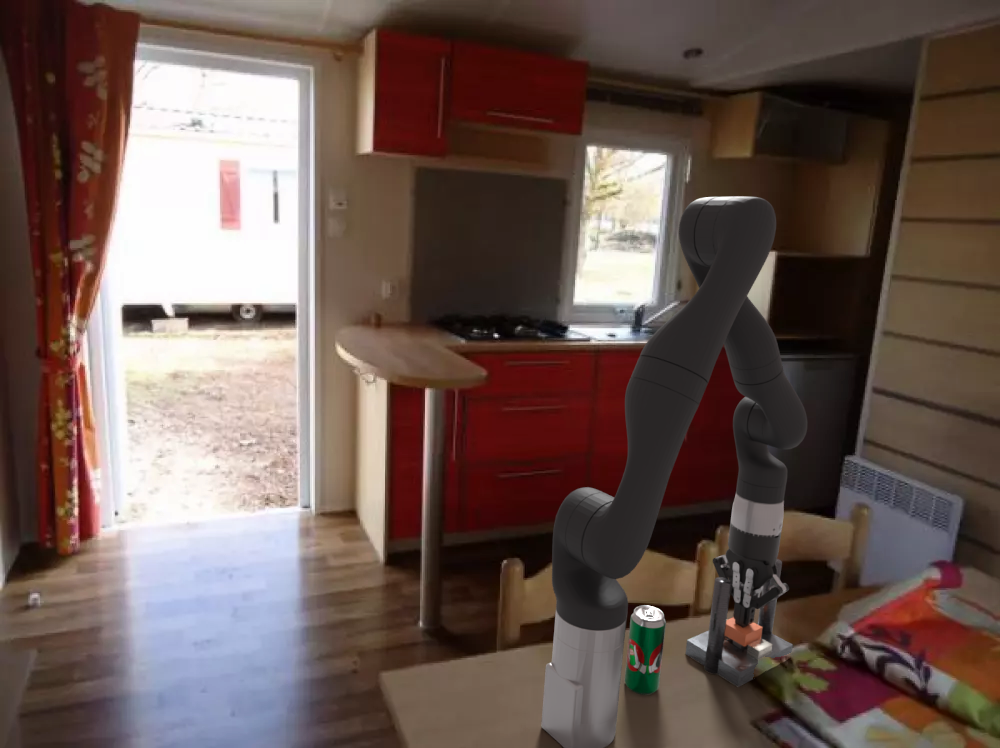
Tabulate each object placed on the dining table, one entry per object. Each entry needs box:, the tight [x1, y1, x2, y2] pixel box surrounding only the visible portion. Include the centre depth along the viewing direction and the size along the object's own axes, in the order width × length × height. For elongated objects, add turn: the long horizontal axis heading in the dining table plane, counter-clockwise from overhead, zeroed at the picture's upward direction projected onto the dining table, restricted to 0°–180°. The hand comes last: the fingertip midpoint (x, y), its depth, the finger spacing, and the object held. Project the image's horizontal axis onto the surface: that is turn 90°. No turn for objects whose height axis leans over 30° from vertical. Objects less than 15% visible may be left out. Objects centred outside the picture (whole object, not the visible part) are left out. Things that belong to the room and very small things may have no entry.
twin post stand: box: [685, 558, 794, 688], centre depth 114 cm, size 16×10×15 cm, turn 126°
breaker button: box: [725, 616, 763, 650], centre depth 115 cm, size 4×4×4 cm
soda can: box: [624, 604, 667, 696], centre depth 105 cm, size 5×5×12 cm
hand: (742, 624), depth 114 cm, fingers closed
